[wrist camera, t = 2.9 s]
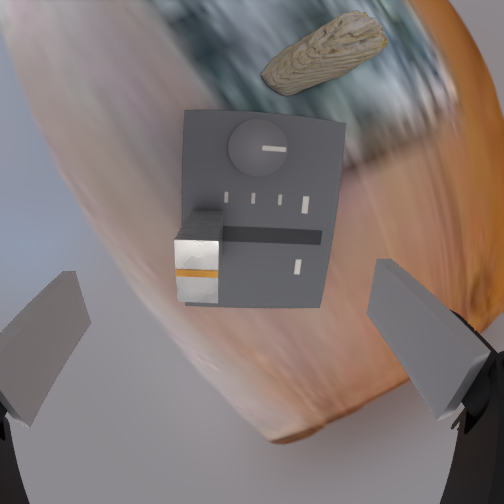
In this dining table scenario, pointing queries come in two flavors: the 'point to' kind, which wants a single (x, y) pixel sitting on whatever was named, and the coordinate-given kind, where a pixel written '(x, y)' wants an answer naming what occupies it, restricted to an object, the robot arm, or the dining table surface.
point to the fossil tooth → (325, 53)
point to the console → (265, 201)
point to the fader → (199, 257)
